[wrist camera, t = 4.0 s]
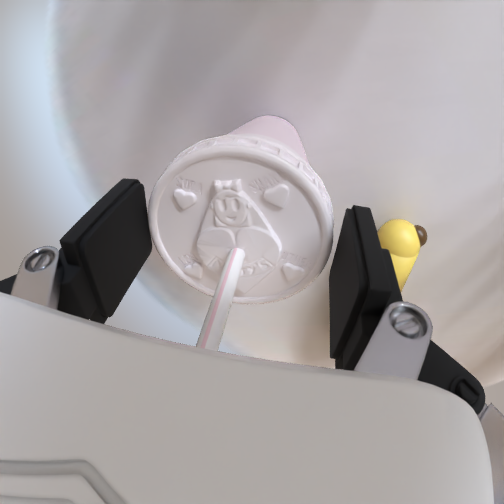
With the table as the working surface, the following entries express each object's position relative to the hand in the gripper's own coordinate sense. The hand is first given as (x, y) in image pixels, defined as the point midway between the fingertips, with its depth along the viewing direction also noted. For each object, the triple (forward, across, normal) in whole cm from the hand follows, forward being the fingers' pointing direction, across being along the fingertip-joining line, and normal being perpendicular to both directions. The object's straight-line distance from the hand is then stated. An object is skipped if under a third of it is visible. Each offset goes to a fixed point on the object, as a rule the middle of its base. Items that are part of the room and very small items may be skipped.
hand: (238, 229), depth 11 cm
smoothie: (+9, 0, 0) cm, 9 cm away
